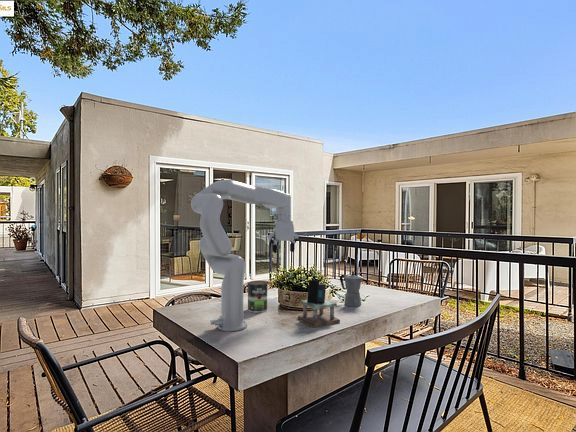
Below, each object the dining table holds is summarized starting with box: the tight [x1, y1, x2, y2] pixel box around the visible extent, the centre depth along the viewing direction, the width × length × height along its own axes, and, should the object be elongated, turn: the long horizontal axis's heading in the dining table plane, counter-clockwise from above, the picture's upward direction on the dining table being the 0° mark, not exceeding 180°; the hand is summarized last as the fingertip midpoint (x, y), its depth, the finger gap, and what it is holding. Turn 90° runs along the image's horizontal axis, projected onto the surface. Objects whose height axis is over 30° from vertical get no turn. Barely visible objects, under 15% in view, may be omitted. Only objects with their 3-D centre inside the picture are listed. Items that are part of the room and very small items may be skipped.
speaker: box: [306, 279, 327, 304], centre depth 157 cm, size 8×6×10 cm
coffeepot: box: [339, 271, 364, 308], centre depth 188 cm, size 15×9×18 cm, turn 44°
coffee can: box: [247, 280, 269, 314], centre depth 177 cm, size 10×10×14 cm
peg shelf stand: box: [297, 298, 341, 328], centre depth 158 cm, size 14×14×9 cm
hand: (283, 252), depth 172 cm, fingers open, 9 cm apart
